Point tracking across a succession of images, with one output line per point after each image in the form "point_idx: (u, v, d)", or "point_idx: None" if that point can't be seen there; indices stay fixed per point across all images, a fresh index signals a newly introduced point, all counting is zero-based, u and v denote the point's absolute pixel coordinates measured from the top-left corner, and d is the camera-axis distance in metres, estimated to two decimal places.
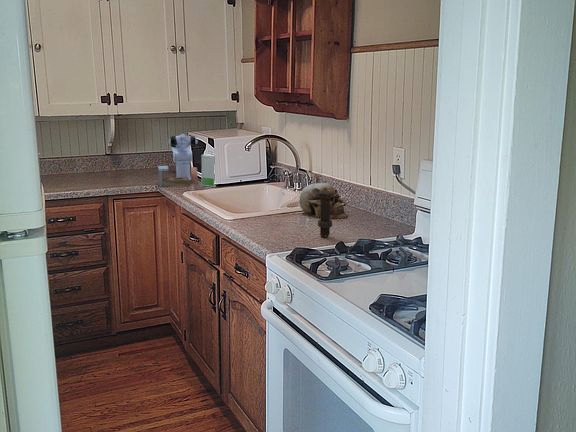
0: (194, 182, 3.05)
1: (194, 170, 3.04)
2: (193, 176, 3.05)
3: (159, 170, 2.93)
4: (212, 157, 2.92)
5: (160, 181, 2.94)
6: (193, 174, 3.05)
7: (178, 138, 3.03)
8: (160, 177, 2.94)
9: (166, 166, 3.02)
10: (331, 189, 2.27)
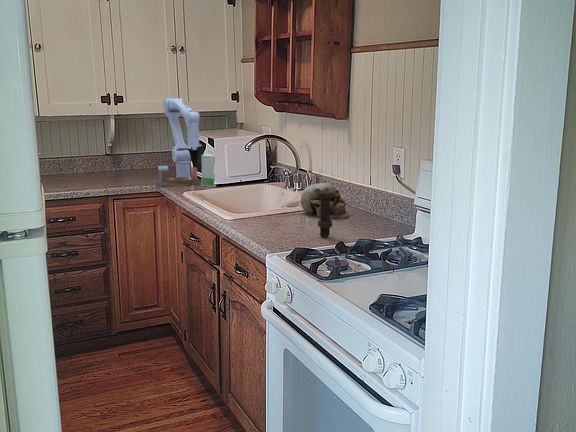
0: (194, 182, 3.05)
1: (194, 170, 3.04)
2: (193, 176, 3.05)
3: (159, 170, 2.93)
4: (212, 157, 2.92)
5: (160, 181, 2.94)
6: (193, 174, 3.05)
7: None
8: (160, 177, 2.94)
9: (166, 166, 3.02)
10: (332, 189, 2.27)
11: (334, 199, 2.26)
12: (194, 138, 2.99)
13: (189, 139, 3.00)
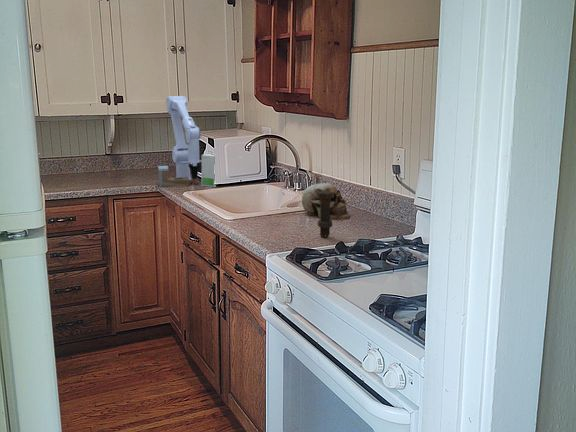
0: (194, 182, 3.05)
1: None
2: None
3: (159, 170, 2.93)
4: (212, 157, 2.92)
5: (160, 181, 2.94)
6: None
7: None
8: (160, 177, 2.94)
9: (166, 166, 3.02)
10: (334, 189, 2.27)
11: (335, 199, 2.26)
12: (194, 154, 3.01)
13: (189, 155, 3.02)
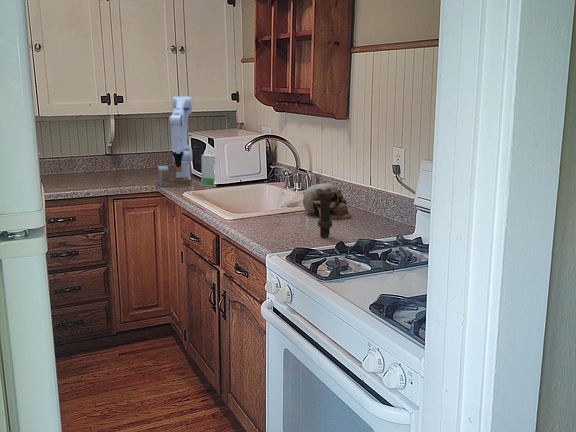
0: (178, 170, 2.99)
1: None
2: None
3: (159, 170, 2.93)
4: (212, 157, 2.92)
5: (160, 181, 2.94)
6: None
7: None
8: (160, 177, 2.94)
9: (166, 166, 3.02)
10: (335, 189, 2.26)
11: (336, 199, 2.25)
12: (178, 141, 2.95)
13: (173, 142, 2.95)
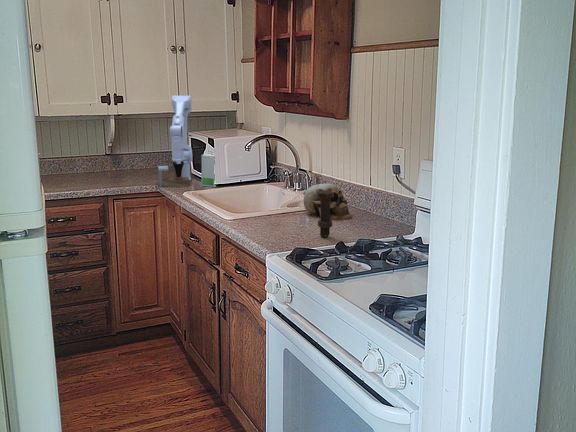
0: None
1: None
2: None
3: (159, 170, 2.93)
4: (212, 157, 2.92)
5: (160, 181, 2.94)
6: None
7: None
8: (160, 177, 2.94)
9: (166, 166, 3.02)
10: (335, 190, 2.26)
11: (337, 199, 2.25)
12: (178, 152, 2.96)
13: (173, 153, 2.96)
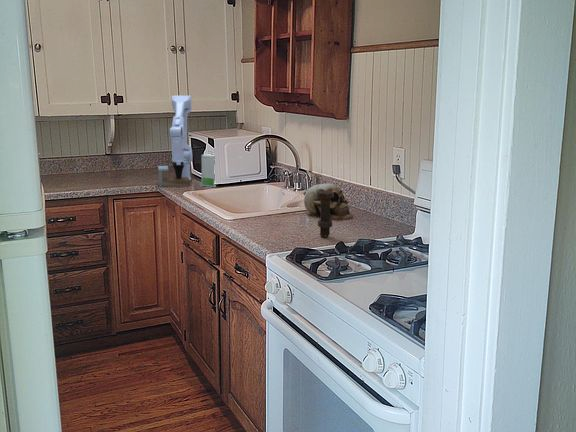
0: None
1: None
2: None
3: (159, 170, 2.93)
4: (212, 157, 2.92)
5: (160, 181, 2.94)
6: None
7: None
8: (160, 177, 2.94)
9: (166, 166, 3.02)
10: (336, 190, 2.26)
11: (338, 199, 2.25)
12: (178, 153, 2.96)
13: (173, 154, 2.96)
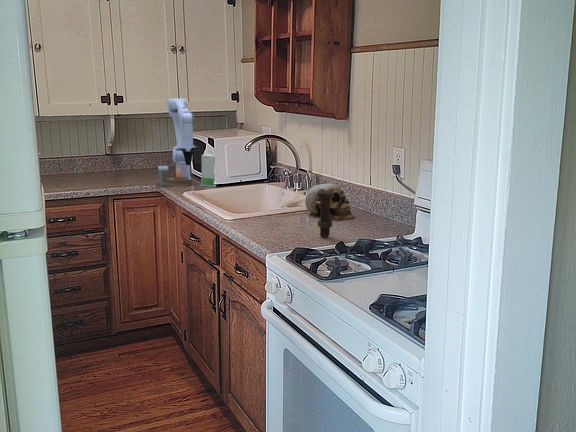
0: None
1: (179, 171, 2.99)
2: (178, 177, 3.00)
3: (159, 170, 2.93)
4: (212, 157, 2.92)
5: (160, 181, 2.94)
6: (178, 175, 3.00)
7: None
8: (160, 177, 2.94)
9: (166, 166, 3.02)
10: (337, 190, 2.26)
11: (339, 200, 2.25)
12: (188, 139, 2.99)
13: (183, 140, 2.99)
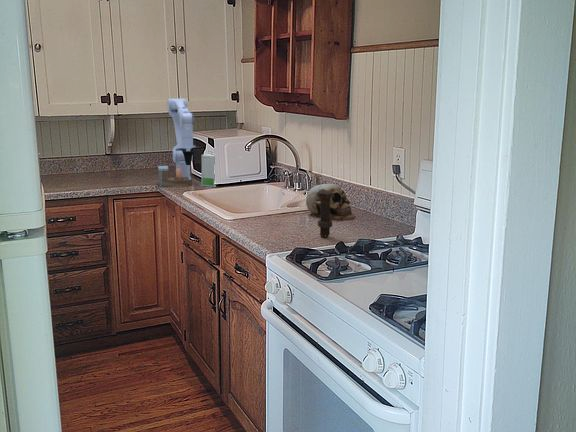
0: None
1: (179, 171, 2.99)
2: (178, 177, 3.00)
3: (159, 170, 2.93)
4: (212, 157, 2.92)
5: (160, 181, 2.94)
6: (178, 175, 3.00)
7: None
8: (160, 177, 2.94)
9: (166, 166, 3.02)
10: (338, 190, 2.25)
11: (340, 200, 2.25)
12: (188, 139, 2.99)
13: (183, 140, 2.99)
